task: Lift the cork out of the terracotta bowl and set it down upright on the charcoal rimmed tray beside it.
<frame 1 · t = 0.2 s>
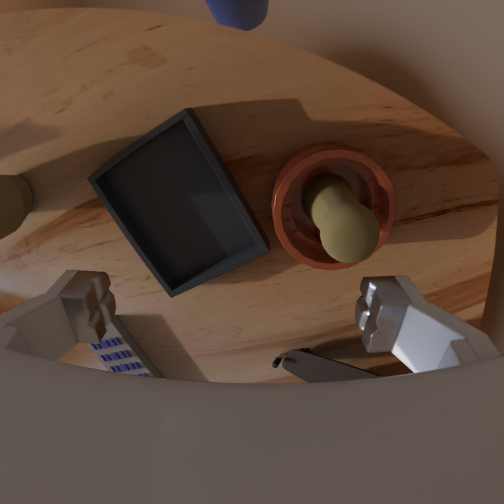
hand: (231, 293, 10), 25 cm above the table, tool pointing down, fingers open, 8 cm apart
tray: (180, 205, 35), on the table
bowl: (327, 198, 34), on the table
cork: (327, 198, 34), resting on bowl
laptop tray: (324, 386, 49), on the table
remote control: (133, 366, 48), on the table
squeeze bottle: (20, 194, 34), on the table
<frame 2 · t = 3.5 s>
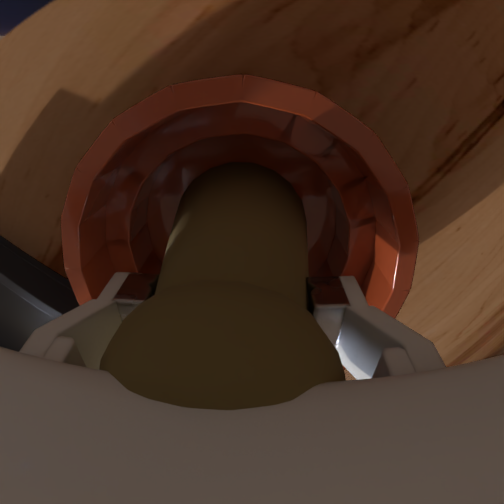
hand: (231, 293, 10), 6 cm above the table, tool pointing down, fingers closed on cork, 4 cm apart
tray: (60, 346, 19), on the table
bowl: (240, 224, 15), on the table
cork: (240, 225, 14), resting on bowl, touching gripper
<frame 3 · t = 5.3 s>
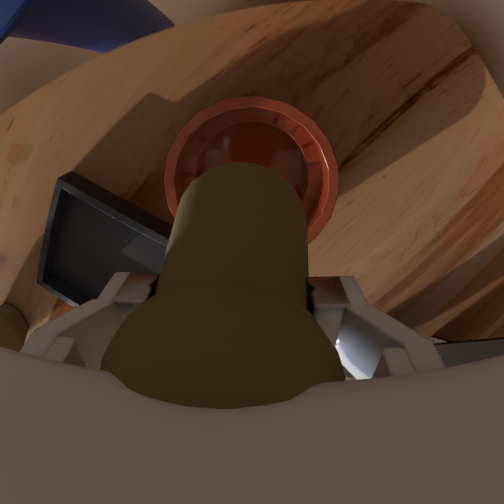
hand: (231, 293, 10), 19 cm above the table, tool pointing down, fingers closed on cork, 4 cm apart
tray: (121, 264, 31), on the table
bowl: (252, 170, 26), on the table
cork: (240, 225, 14), point 13 cm above the table, touching gripper
laptop tray: (399, 370, 38), on the table
squeeze bottle: (14, 318, 36), on the table
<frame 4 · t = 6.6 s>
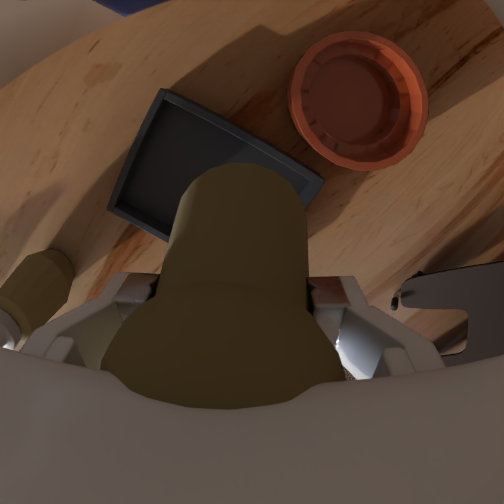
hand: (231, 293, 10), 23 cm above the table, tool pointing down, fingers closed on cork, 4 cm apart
tray: (211, 186, 31), on the table
bowl: (349, 99, 27), on the table
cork: (240, 225, 14), point 17 cm above the table, touching gripper
laptop tray: (454, 308, 39), on the table
squeeze bottle: (58, 266, 36), on the table
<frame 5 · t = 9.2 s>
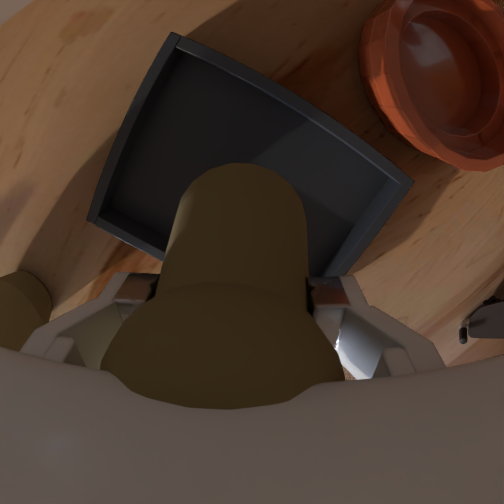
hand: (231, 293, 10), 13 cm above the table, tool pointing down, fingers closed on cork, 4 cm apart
tray: (245, 184, 21), on the table
bowl: (436, 72, 16), on the table
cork: (240, 226, 14), point 7 cm above the table, touching gripper
squeeze bottle: (32, 292, 26), on the table
when the fingers open (6 cm above the table, at t = 11.2 s): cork stays where it is, resting on tray.
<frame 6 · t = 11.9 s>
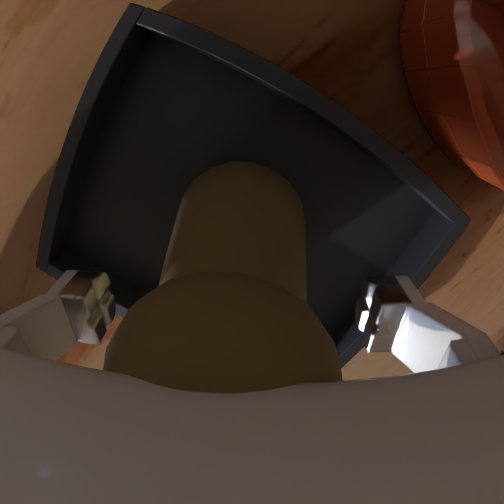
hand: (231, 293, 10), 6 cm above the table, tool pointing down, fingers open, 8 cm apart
tray: (241, 219, 15), on the table
bowl: (491, 72, 11), on the table
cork: (240, 223, 15), resting on tray
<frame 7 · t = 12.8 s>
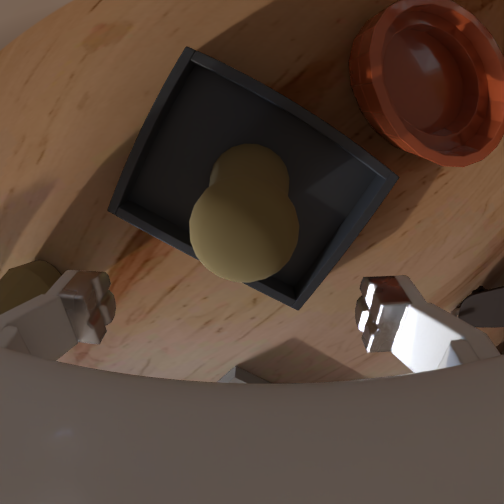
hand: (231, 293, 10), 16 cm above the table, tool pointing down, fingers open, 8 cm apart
tray: (249, 180, 24), on the table
bowl: (420, 80, 19), on the table
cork: (249, 182, 23), resting on tray
laptop tray: (503, 323, 31), on the table
remote control: (285, 413, 37), on the table
squeeze bottle: (48, 281, 29), on the table
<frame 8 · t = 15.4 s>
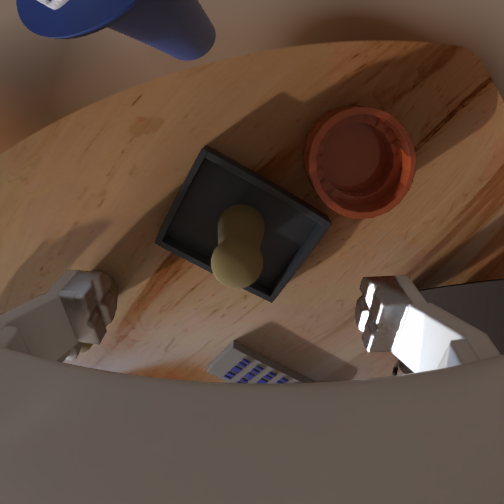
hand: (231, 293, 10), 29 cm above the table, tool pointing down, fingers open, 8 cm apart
tray: (241, 224, 40), on the table
bowl: (353, 156, 35), on the table
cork: (241, 226, 40), resting on tray
laptop tray: (437, 317, 47), on the table
remote control: (269, 378, 54), on the table
squeeze bottle: (102, 285, 45), on the table
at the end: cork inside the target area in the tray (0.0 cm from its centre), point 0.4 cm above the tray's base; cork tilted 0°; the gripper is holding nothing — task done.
